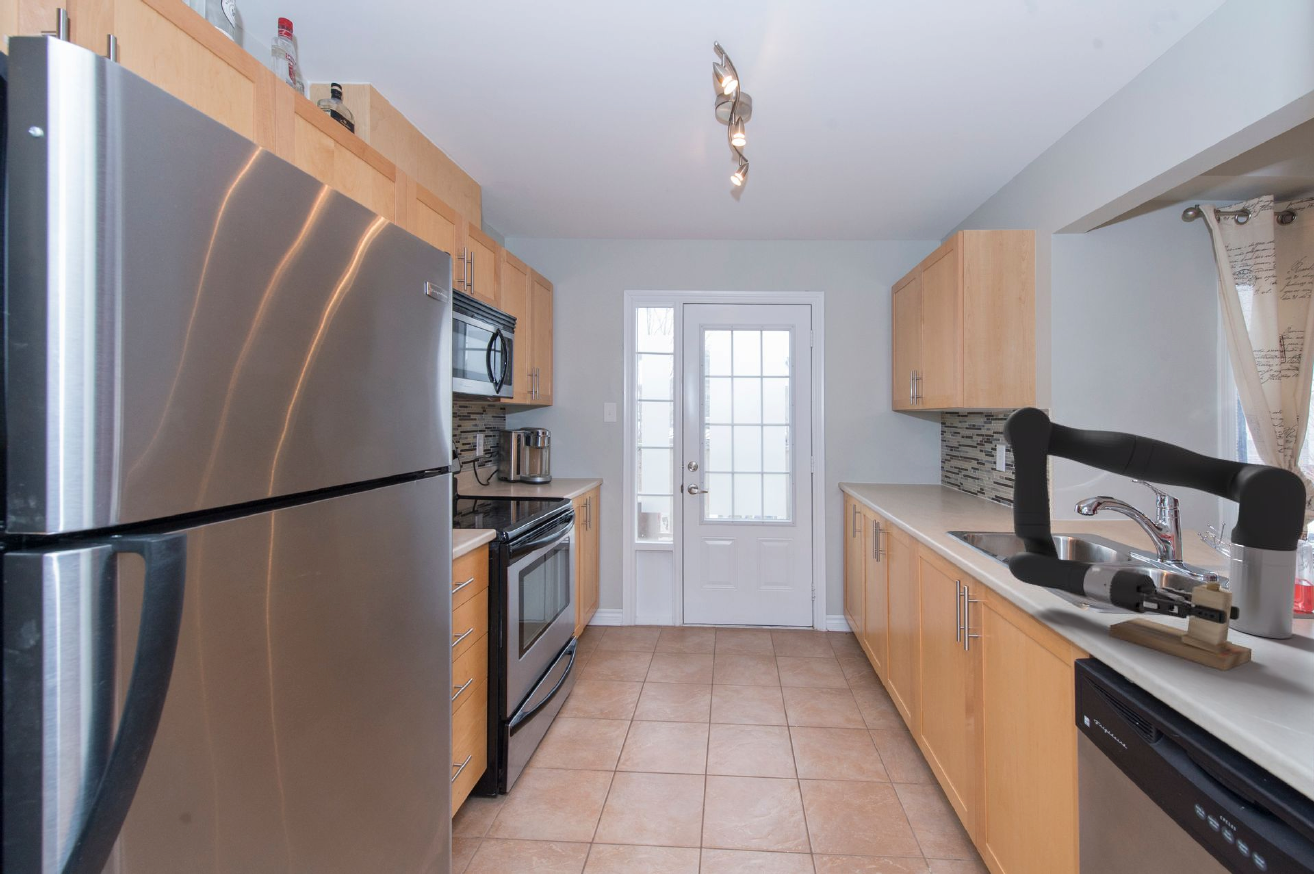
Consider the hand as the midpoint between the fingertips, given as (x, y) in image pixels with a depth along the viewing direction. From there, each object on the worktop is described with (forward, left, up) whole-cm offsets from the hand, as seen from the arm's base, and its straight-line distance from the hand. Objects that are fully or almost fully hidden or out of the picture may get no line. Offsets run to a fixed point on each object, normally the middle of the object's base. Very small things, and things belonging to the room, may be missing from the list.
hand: (1231, 615), depth 101 cm
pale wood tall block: (0, -3, -6) cm, 7 cm away
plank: (-1, -8, -9) cm, 12 cm away
